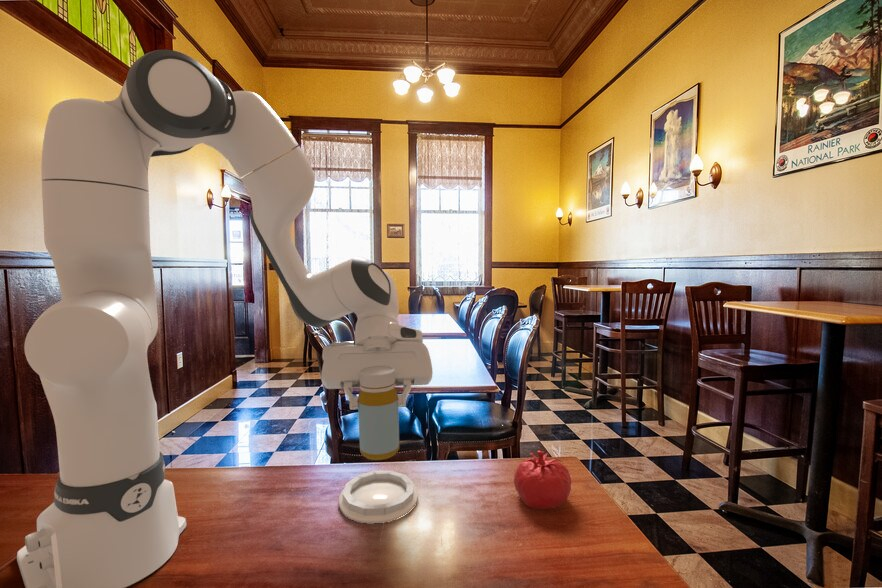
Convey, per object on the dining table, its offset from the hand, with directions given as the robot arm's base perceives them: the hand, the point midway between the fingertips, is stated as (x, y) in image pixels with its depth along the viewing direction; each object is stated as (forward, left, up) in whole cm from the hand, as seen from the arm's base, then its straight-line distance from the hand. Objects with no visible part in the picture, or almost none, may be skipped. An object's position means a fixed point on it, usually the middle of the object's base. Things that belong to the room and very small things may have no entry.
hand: (378, 407), depth 74 cm
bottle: (0, +1, -9) cm, 9 cm away
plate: (0, 0, -17) cm, 17 cm away
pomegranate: (+26, +14, -18) cm, 34 cm away
